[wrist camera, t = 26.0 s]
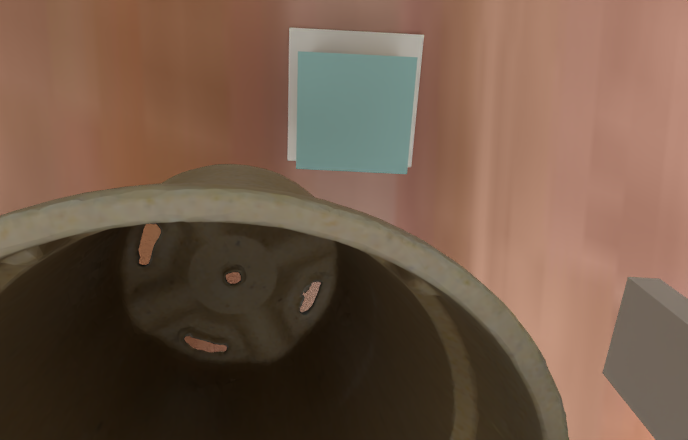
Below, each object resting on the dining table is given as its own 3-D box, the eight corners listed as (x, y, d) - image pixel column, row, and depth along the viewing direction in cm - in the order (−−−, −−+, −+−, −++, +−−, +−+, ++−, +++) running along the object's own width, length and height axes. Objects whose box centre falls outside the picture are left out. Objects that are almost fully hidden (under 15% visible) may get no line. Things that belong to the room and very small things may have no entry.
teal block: (303, 152, 40) (296, 168, 35) (305, 51, 38) (297, 51, 32) (398, 157, 41) (406, 174, 35) (407, 57, 38) (417, 57, 32)
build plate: (288, 158, 48) (287, 160, 47) (290, 28, 44) (289, 27, 43) (409, 164, 48) (411, 166, 47) (422, 35, 44) (423, 34, 43)
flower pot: (405, 96, 13) (648, 172, 5) (391, 388, 16) (526, 726, 8) (21, 100, 11) (-534, 217, 3) (88, 421, 15) (-119, 878, 7)
